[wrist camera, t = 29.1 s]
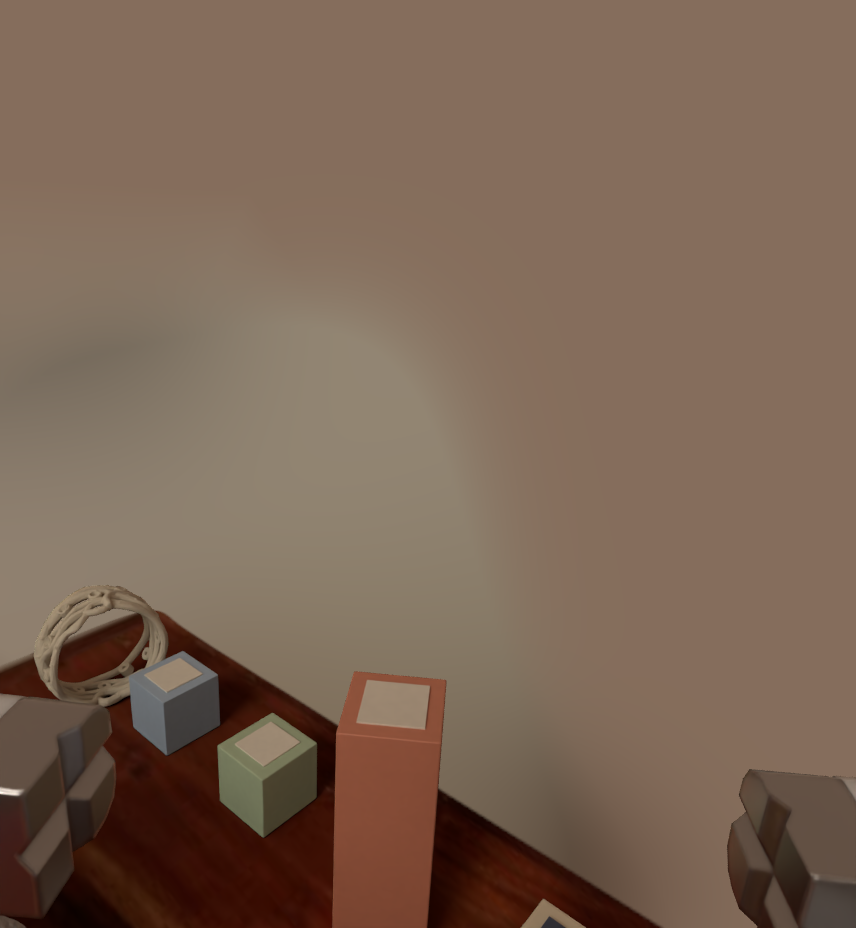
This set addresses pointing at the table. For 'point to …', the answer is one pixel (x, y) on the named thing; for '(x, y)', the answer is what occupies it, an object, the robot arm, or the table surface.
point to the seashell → (9, 923)
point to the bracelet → (73, 621)
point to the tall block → (386, 800)
